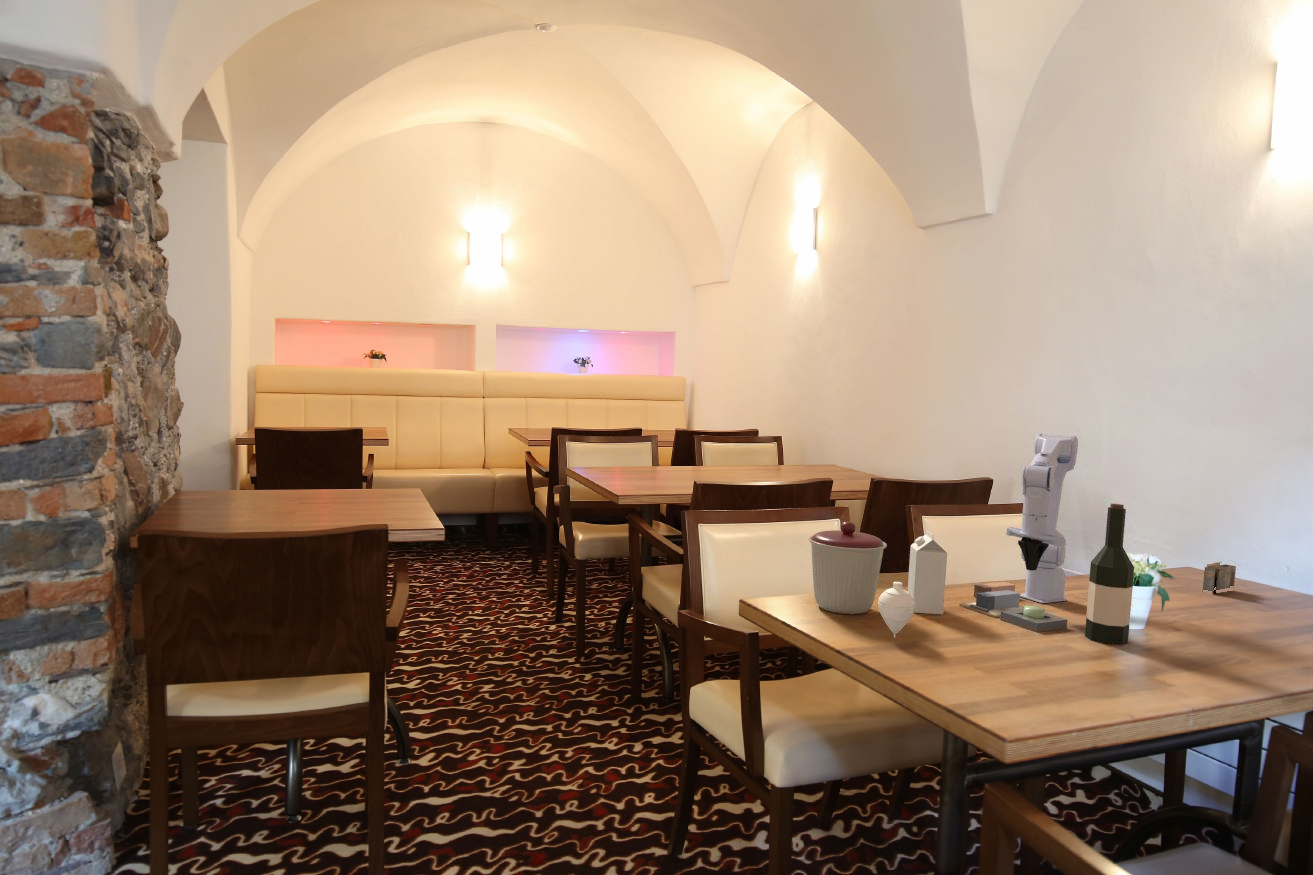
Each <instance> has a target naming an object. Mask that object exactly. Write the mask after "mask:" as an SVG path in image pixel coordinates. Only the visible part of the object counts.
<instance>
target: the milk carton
mask: <svg viewBox="0 0 1313 875" xmlns="http://www.w3.org/2000/svg"><path fill="white" fill-rule="evenodd" d="M934 536H935V535H934V534H933V533H931V532H930V531H929V530H927V529H926V530H925V534H924V535H922V536H921V535H920V536H918V537H917V538H916V539H914V542H912V544H911V545H910V551H909V552H910V553H909V563H908V564H909V566H908V580H907V592H909V593H910V595H911V596H912V597H913V599H914V601H915V611H914V614H915V613H916V614H917V613H919V614H927V615H929V614H931V615H932V614H933V615H944V605H945V604H944V603H945V590H946V577H947V564H948V563H947V561H948V552H947V551H946V550H945V549H944V548H943V547H942V546H940V545H939V544H938V543H937V542H936V540H934V539H935V538H934Z"/></svg>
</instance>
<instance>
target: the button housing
mask: <svg viewBox="0 0 1313 875" xmlns="http://www.w3.org/2000/svg"><path fill="white" fill-rule="evenodd" d="M1023 613H1024V609H1016V610H1008V611H1001V616H1000V617H999V620H1000V621H1004V622H1006V623H1009V624H1011V623H1012V625H1015V626H1017V627H1020V628H1023V629H1027V630H1028V631H1029V630H1030V631H1032V632H1035V633H1039V632H1040V633H1041V632H1048V631H1054V630H1062V629H1067V628H1068V619H1067V618H1064V617H1061V616H1057V615H1054V614H1052V613H1048V612H1045V613H1044V619H1036V620H1035V619H1032V618H1029V617H1026V616H1023Z"/></svg>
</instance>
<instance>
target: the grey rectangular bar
mask: <svg viewBox="0 0 1313 875" xmlns="http://www.w3.org/2000/svg"><path fill="white" fill-rule="evenodd" d="M1020 594H1021V593H1020V592H1017V591H1015V592H1014V591H1010V590H1004V591H994V592H984V593H977V596H976V598H975V602H976V606H979V607H982V608H985V609H988V610H996V609H1005V608H1014V607H1019V606H1020V598H1021V597H1020Z"/></svg>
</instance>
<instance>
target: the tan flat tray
mask: <svg viewBox="0 0 1313 875" xmlns="http://www.w3.org/2000/svg"><path fill="white" fill-rule="evenodd" d="M959 605H960V606H959V607H962V606H963V608H966V609H969V610H970V611H971V610H972V611H974V612H976V611H977V613H980V614H983V615H986V616H989V617H991V618H994V619H997V618H1000V616H1001V611H1008V610H1016V609H1024V606H1022V605H1019V607H1014V608H1005V609H996V610H988V609H985V608H982V607H979V606H976V601H973V602H972V601H971V602H961V603H959Z"/></svg>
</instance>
